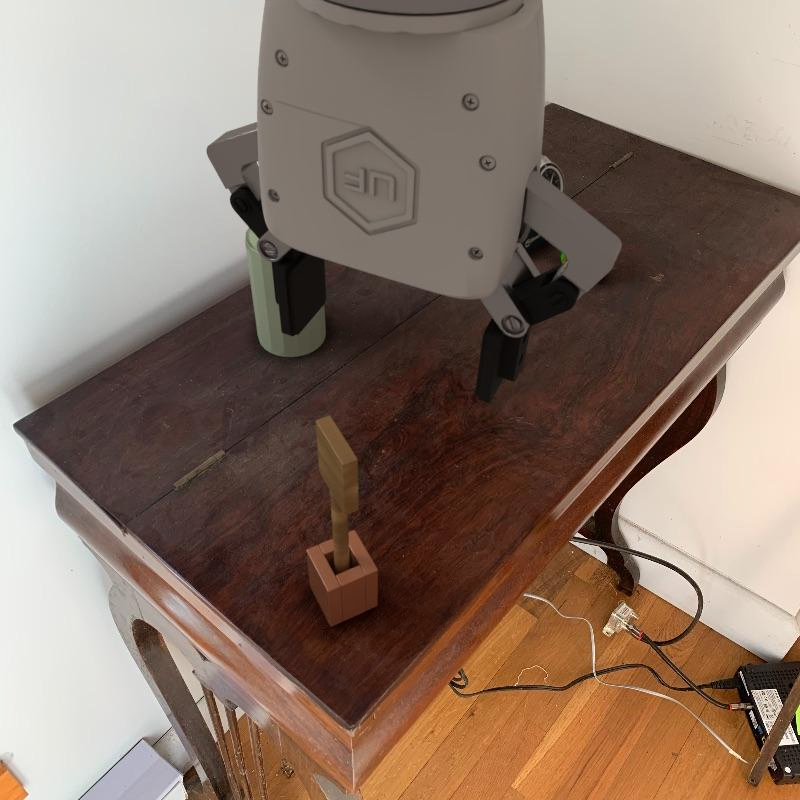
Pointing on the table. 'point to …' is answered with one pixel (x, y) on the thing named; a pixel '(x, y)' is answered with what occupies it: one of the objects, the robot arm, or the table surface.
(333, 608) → the holder
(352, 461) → the brown long flat piece
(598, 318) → the table surface
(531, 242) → the watch
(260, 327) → the bottle
